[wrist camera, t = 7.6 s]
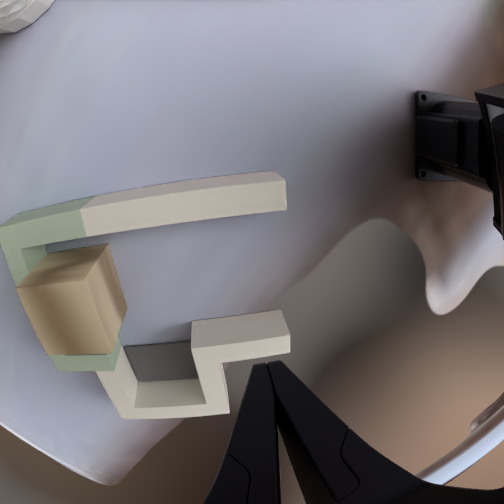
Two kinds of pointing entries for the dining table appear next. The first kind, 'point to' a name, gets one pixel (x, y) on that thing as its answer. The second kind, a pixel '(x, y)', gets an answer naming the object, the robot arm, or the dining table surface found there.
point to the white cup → (20, 13)
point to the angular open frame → (203, 331)
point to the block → (75, 301)
